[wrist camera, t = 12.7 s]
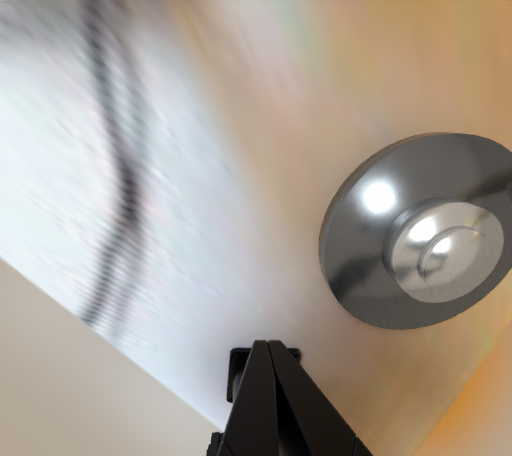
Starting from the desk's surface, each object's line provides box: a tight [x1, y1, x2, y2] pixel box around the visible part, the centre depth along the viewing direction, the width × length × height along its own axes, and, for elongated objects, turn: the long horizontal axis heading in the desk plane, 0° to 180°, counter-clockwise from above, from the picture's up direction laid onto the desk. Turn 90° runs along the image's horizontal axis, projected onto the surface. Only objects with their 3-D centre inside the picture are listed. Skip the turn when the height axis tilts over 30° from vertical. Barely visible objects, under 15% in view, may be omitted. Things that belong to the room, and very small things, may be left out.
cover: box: [382, 196, 504, 303], centre depth 19 cm, size 7×7×3 cm
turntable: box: [319, 132, 512, 329], centre depth 18 cm, size 17×15×8 cm
